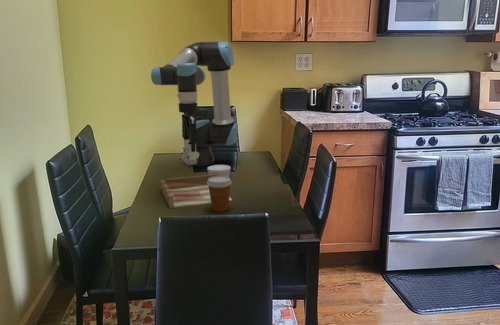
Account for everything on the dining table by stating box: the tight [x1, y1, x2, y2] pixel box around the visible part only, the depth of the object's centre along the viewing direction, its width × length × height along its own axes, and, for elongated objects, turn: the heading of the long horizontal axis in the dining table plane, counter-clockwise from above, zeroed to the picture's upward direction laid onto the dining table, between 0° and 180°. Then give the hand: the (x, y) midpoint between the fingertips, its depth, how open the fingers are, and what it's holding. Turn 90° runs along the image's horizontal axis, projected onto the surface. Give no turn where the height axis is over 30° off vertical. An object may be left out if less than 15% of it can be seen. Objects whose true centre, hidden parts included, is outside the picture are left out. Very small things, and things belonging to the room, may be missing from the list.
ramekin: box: [206, 164, 232, 178], centre depth 219 cm, size 11×11×5 cm
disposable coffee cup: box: [207, 176, 233, 212], centre depth 177 cm, size 10×10×12 cm
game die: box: [178, 147, 201, 168], centre depth 188 cm, size 9×8×10 cm
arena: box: [160, 174, 233, 209], centre depth 193 cm, size 24×26×5 cm
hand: (190, 156), depth 189 cm, fingers closed on game die, 8 cm apart
